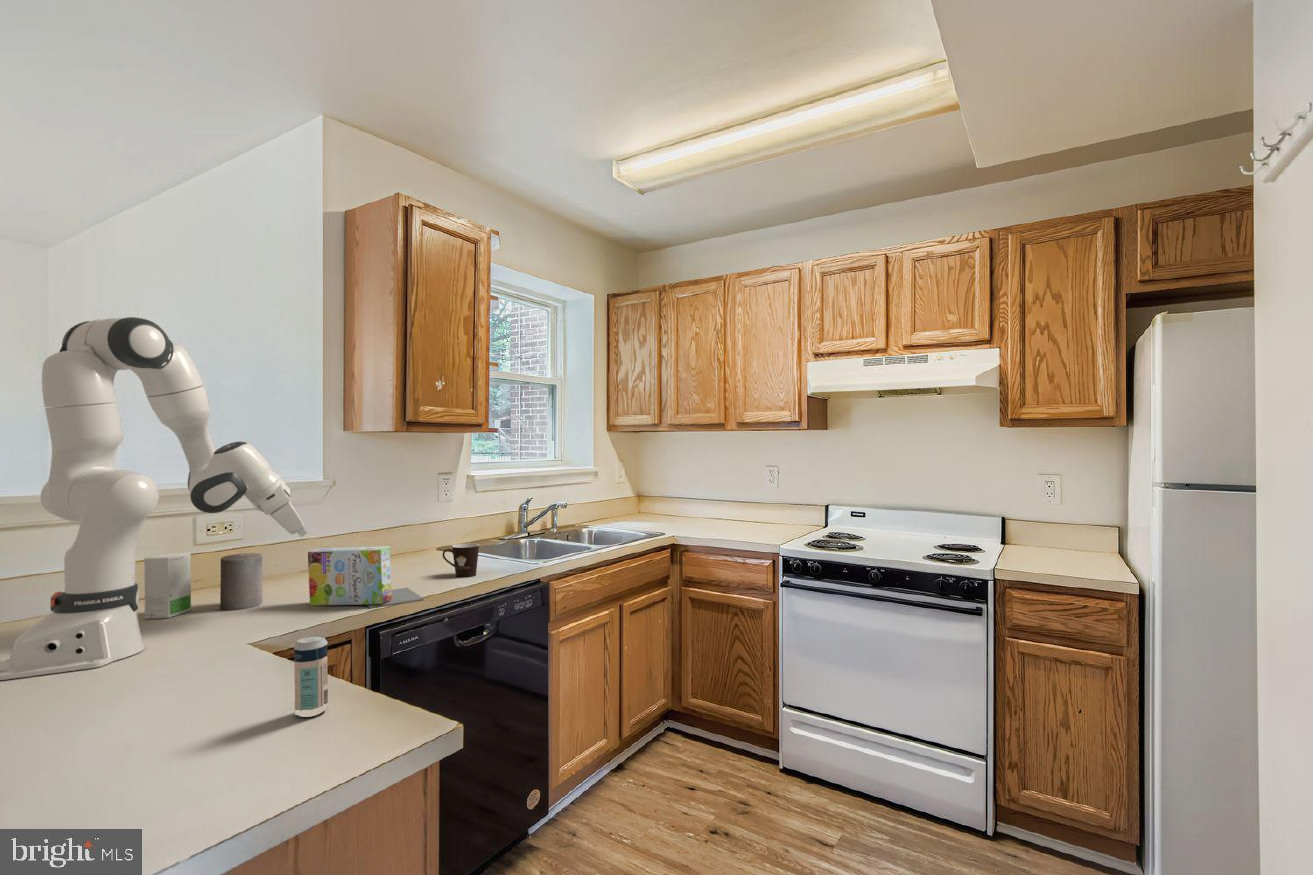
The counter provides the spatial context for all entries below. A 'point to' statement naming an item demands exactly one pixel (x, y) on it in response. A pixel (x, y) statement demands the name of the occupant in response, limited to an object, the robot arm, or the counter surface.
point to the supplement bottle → (311, 673)
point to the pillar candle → (241, 581)
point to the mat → (399, 598)
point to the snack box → (349, 576)
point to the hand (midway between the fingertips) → (303, 533)
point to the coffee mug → (464, 559)
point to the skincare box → (167, 585)
